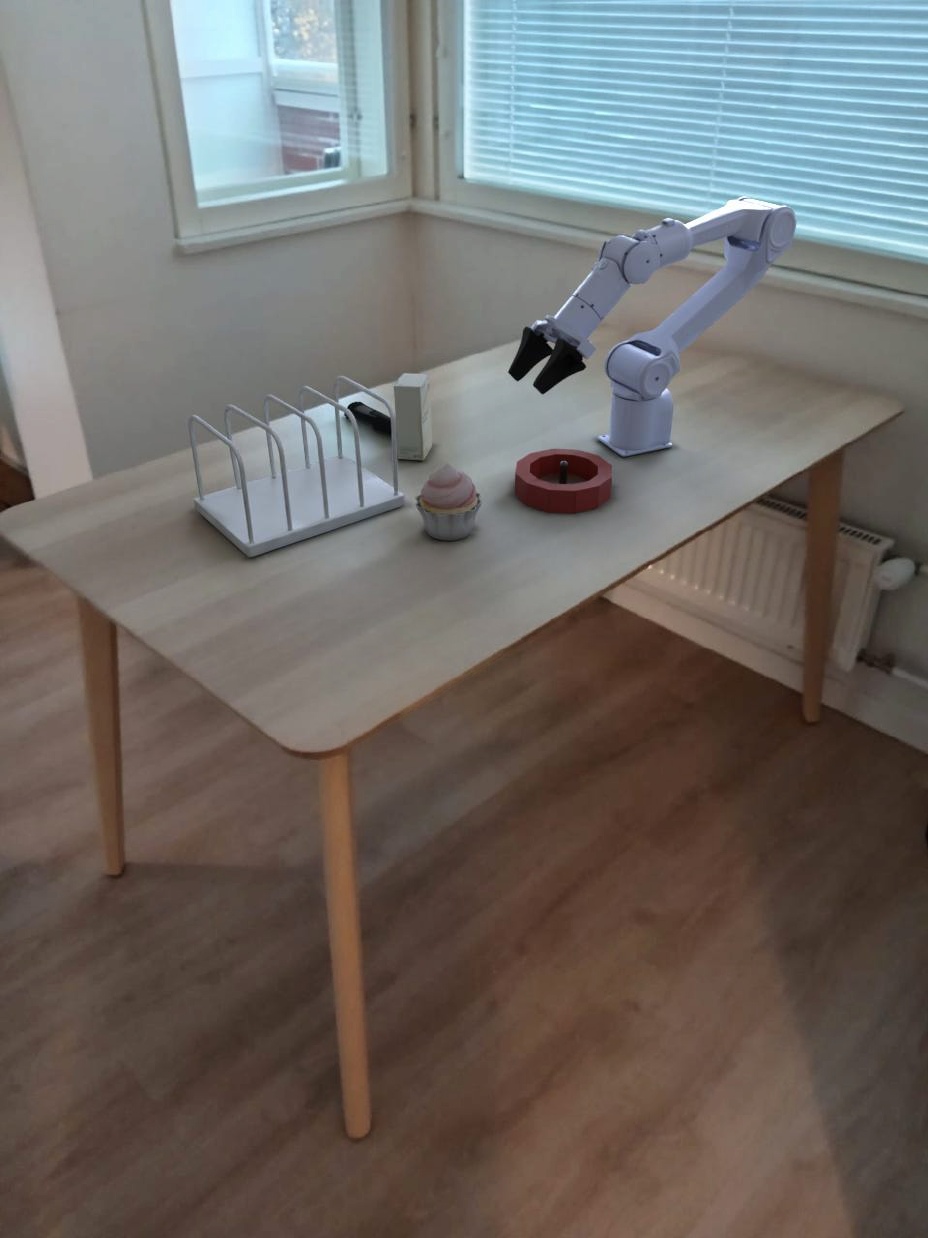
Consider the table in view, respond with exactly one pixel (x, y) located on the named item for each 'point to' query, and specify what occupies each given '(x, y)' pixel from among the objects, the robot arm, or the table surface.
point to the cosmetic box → (413, 416)
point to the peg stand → (563, 476)
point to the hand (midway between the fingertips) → (524, 383)
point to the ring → (563, 495)
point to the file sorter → (296, 485)
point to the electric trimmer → (371, 417)
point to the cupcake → (448, 504)
